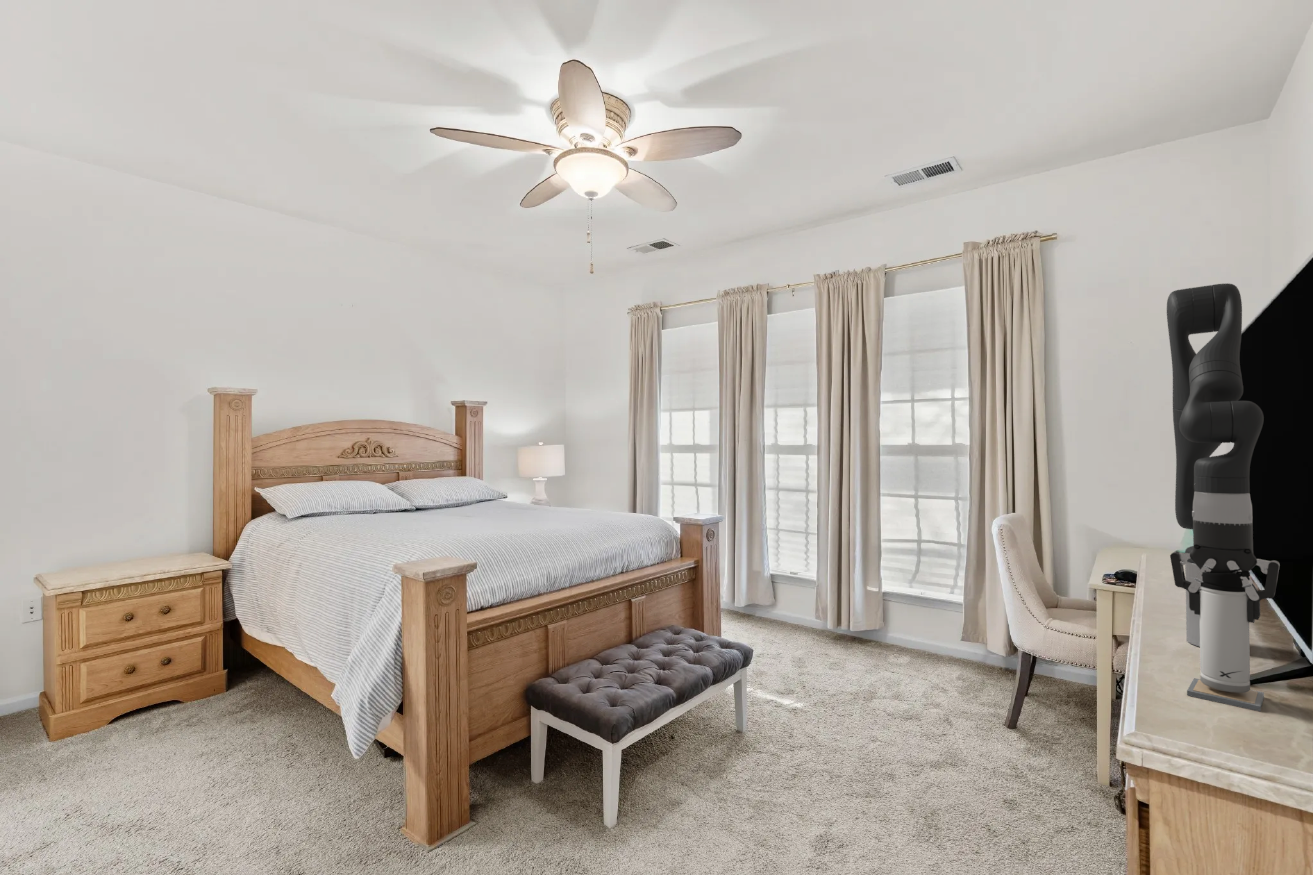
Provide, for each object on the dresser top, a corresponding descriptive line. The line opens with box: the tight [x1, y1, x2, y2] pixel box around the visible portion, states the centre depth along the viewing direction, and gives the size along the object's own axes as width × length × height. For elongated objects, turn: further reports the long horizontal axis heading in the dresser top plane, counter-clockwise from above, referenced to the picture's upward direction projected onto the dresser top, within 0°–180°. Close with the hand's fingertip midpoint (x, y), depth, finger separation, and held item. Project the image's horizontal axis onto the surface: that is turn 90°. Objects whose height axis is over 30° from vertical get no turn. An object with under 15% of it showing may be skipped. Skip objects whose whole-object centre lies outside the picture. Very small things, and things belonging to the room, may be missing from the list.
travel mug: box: [1199, 571, 1251, 693], centre depth 106 cm, size 6×7×20 cm
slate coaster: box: [1186, 678, 1265, 712], centre depth 106 cm, size 8×9×1 cm
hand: (1223, 617), depth 106 cm, fingers closed on travel mug, 6 cm apart
